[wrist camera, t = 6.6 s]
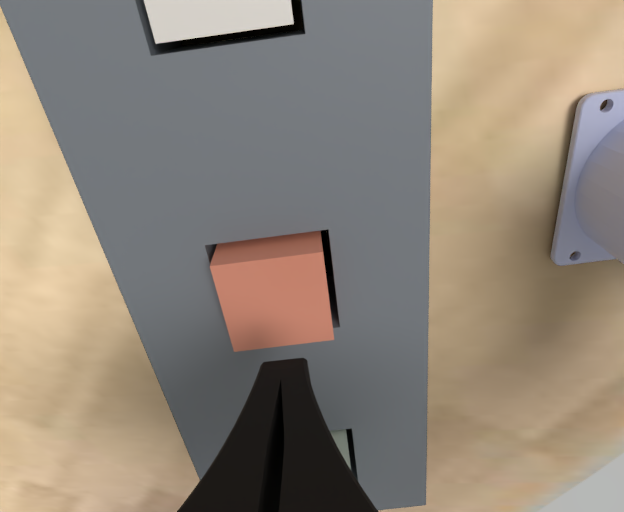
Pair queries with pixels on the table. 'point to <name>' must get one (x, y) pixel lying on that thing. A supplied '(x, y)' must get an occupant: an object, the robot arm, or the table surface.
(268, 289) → the terracotta button
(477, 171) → the table surface
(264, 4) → the white cube
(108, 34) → the button panel
